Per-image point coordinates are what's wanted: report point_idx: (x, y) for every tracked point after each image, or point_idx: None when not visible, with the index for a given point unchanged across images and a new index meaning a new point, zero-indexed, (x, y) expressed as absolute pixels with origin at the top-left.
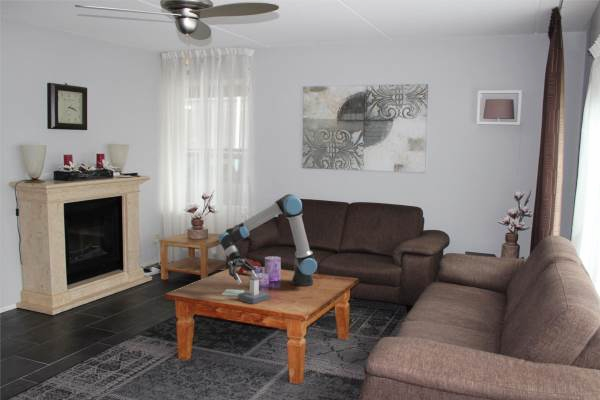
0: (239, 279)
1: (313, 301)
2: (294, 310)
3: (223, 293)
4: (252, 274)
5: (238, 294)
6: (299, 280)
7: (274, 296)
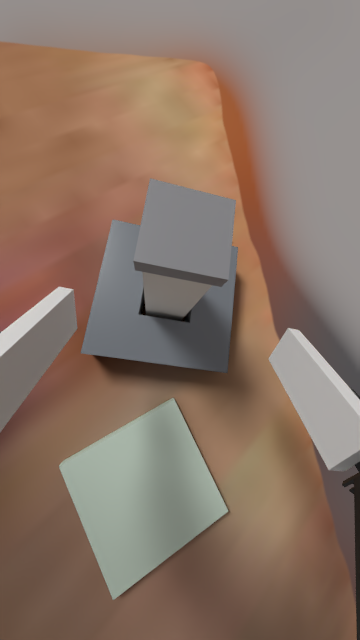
0: (314, 353)
1: (22, 72)
2: (184, 98)
3: (210, 513)
4: (26, 373)
5: (226, 370)
6: None
7: (51, 249)
